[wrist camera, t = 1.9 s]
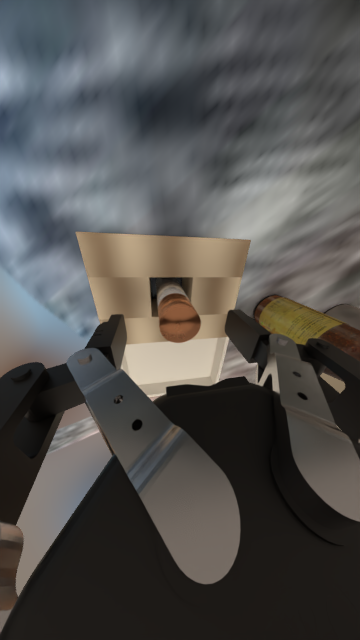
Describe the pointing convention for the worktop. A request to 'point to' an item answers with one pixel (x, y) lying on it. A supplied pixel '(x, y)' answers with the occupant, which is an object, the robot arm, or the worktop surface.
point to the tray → (174, 363)
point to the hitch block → (162, 261)
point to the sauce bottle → (307, 325)
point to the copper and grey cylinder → (175, 311)
